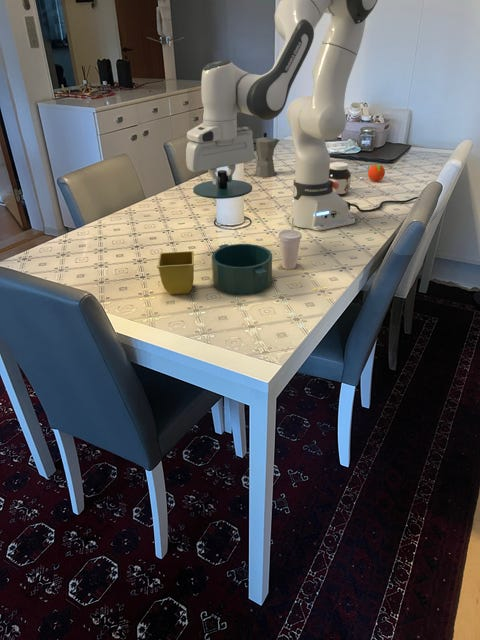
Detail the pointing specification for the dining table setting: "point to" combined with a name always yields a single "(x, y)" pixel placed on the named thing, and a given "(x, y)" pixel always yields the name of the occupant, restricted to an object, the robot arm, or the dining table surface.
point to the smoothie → (289, 246)
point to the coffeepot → (265, 155)
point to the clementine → (376, 172)
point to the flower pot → (177, 271)
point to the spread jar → (340, 177)
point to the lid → (222, 188)
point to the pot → (242, 268)
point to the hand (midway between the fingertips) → (222, 182)
